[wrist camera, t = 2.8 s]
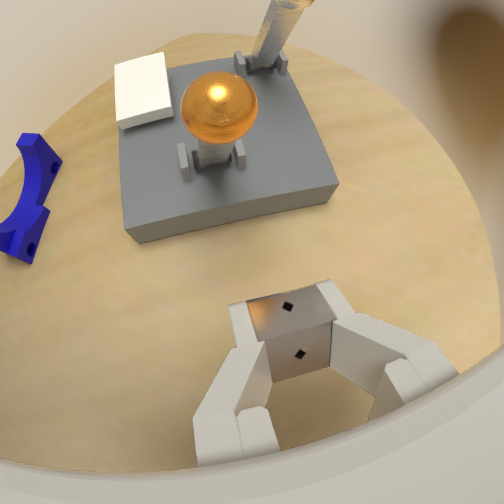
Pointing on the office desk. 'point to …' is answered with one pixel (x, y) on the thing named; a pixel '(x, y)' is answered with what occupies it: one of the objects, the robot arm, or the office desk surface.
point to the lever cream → (275, 32)
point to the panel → (225, 175)
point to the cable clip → (30, 199)
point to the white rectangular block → (142, 91)
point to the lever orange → (217, 115)
